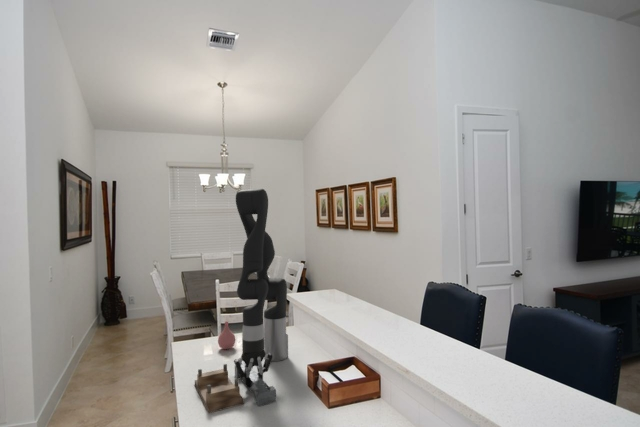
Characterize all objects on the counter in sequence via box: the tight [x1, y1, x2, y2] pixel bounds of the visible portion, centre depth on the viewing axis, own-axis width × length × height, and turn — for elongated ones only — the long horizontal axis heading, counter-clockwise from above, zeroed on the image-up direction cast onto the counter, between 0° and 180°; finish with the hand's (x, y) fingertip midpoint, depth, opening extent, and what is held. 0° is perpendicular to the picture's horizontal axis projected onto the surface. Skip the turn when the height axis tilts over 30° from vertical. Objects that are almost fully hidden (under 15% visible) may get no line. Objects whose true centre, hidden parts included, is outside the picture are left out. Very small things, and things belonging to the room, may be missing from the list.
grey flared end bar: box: [234, 362, 277, 407], centre depth 132 cm, size 6×26×4 cm, turn 29°
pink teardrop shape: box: [217, 321, 236, 350], centre depth 170 cm, size 8×8×12 cm
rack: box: [194, 363, 245, 414], centre depth 127 cm, size 11×22×6 cm, turn 29°
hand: (253, 385), depth 132 cm, fingers closed on grey flared end bar, 3 cm apart
